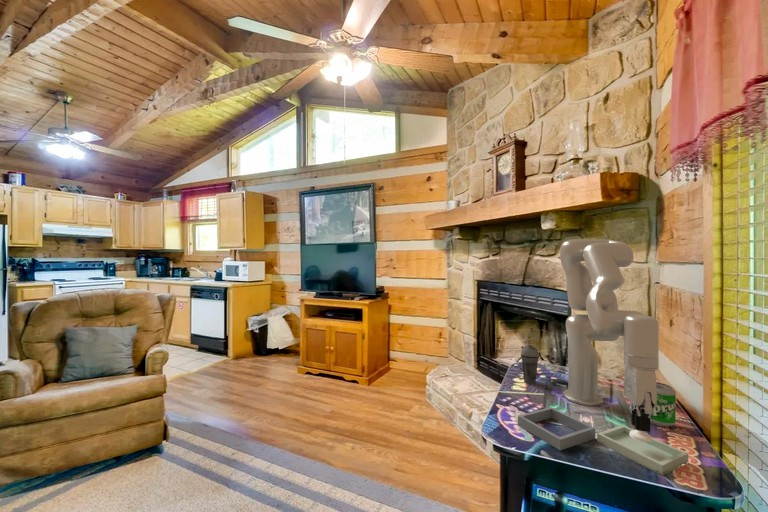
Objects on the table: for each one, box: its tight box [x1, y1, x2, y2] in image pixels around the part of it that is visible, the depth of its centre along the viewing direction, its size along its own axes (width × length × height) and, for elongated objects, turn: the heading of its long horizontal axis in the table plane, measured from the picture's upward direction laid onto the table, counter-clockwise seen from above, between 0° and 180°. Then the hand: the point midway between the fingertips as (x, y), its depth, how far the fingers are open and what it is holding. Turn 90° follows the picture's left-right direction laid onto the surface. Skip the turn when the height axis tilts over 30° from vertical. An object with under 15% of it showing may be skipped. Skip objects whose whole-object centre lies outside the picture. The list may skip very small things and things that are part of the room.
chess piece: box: [629, 403, 653, 442], centre depth 91 cm, size 5×5×10 cm
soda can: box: [650, 381, 677, 428], centre depth 108 cm, size 8×8×12 cm
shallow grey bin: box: [517, 406, 596, 451], centre depth 102 cm, size 15×15×3 cm
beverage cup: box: [520, 334, 540, 385], centre depth 141 cm, size 7×7×20 cm
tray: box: [596, 424, 689, 476], centre depth 91 cm, size 12×16×2 cm
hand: (640, 427), depth 91 cm, fingers closed on chess piece
